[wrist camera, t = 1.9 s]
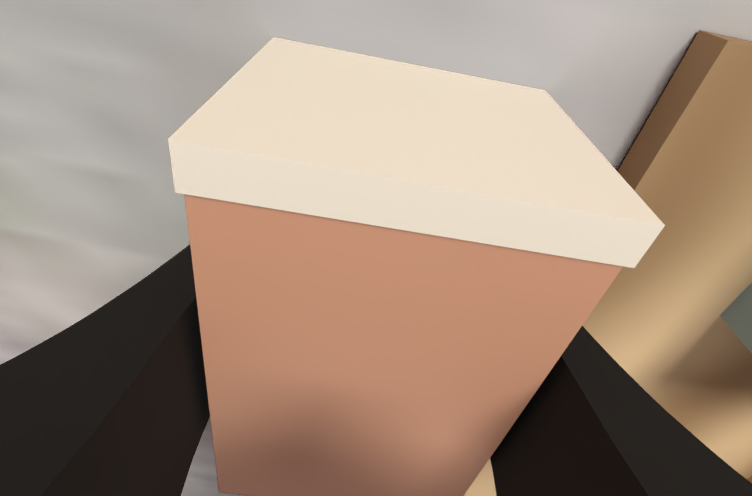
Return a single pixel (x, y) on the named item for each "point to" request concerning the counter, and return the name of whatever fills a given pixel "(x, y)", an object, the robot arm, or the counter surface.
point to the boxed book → (387, 266)
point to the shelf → (689, 254)
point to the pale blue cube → (741, 317)
